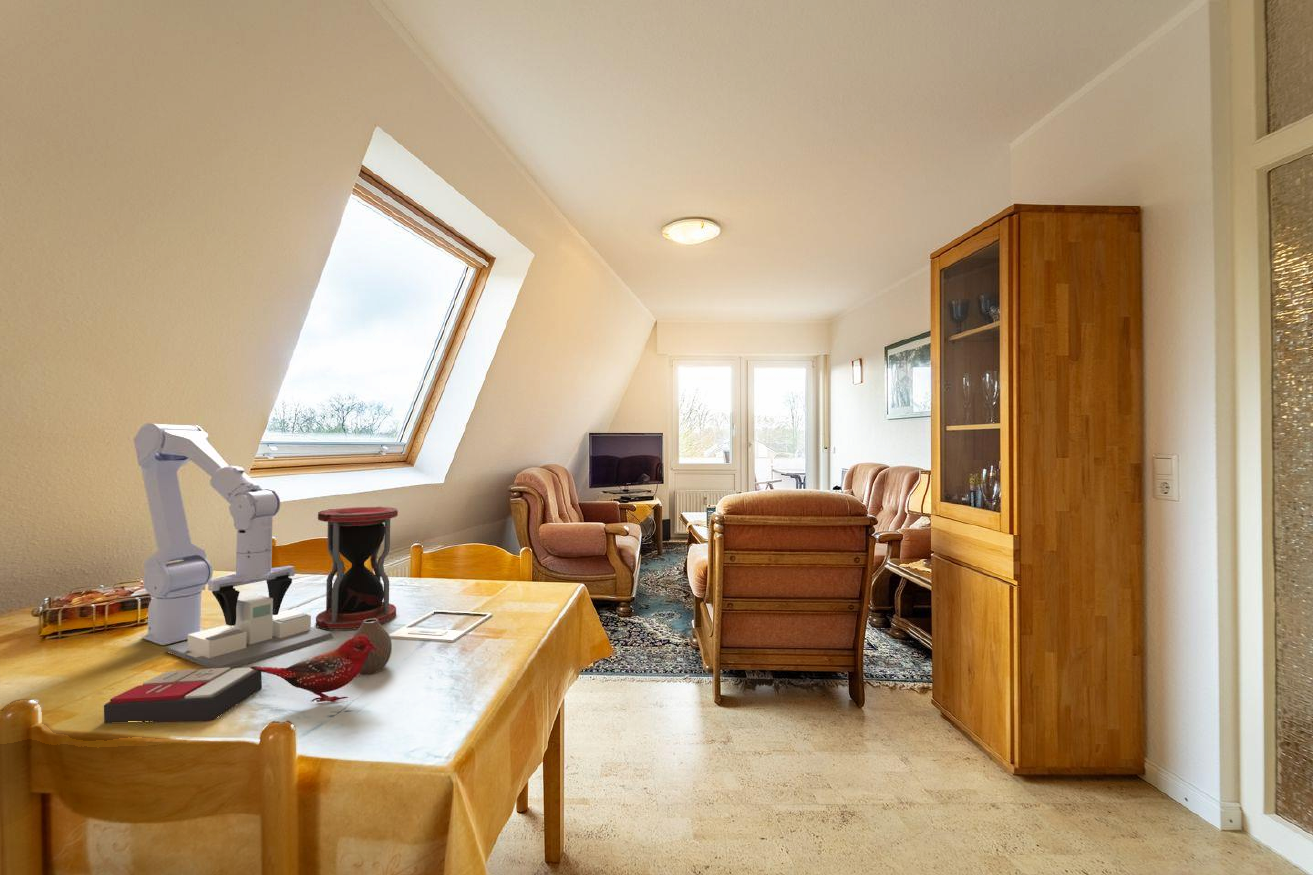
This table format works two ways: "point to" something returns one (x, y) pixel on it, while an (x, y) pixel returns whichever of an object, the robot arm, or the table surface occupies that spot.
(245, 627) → the module block
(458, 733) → the table surface
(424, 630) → the photo frame
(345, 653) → the decorative bird figurine
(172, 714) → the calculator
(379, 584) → the hourglass
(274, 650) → the rail board
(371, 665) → the vase
